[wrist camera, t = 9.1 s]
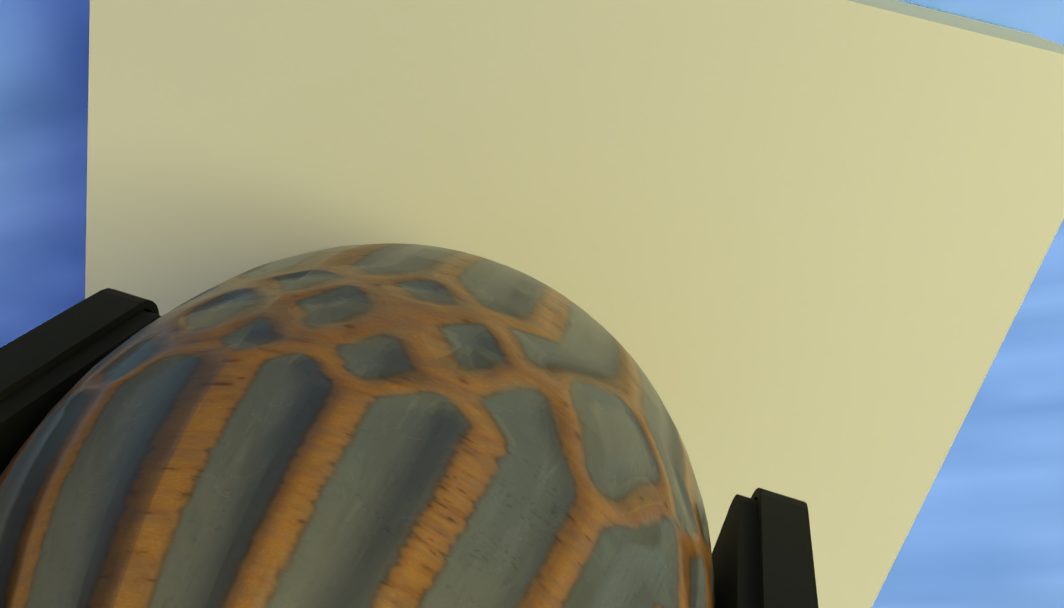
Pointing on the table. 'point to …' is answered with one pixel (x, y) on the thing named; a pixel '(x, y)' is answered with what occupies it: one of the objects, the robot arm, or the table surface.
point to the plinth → (628, 200)
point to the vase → (359, 453)
